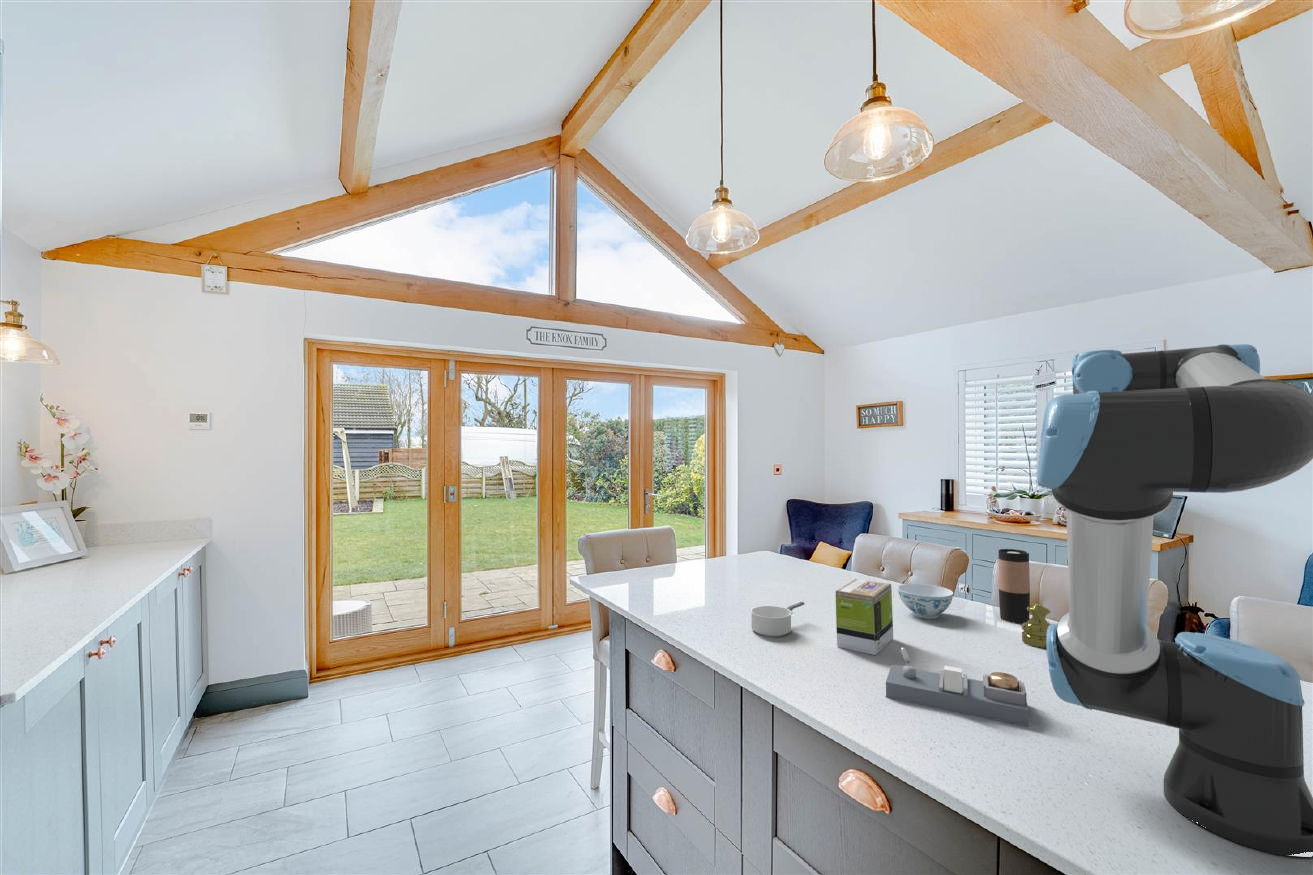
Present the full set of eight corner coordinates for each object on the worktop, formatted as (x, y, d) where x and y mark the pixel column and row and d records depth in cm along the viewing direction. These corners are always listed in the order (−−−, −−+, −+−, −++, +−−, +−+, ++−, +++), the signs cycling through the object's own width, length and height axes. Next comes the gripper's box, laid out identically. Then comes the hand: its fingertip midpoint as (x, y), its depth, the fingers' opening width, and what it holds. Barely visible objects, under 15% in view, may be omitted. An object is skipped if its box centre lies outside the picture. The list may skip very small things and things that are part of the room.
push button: (1018, 696, 101) (1018, 683, 101) (991, 691, 103) (990, 678, 103) (1016, 687, 105) (1016, 674, 105) (990, 683, 107) (989, 670, 107)
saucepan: (819, 626, 154) (819, 606, 154) (774, 642, 142) (773, 620, 142) (787, 616, 163) (787, 597, 163) (741, 630, 151) (741, 610, 151)
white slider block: (962, 693, 104) (961, 672, 104) (944, 689, 106) (944, 669, 106) (962, 689, 106) (961, 668, 106) (944, 685, 107) (944, 665, 107)
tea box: (856, 631, 149) (855, 577, 149) (894, 639, 143) (893, 583, 143) (835, 647, 138) (834, 588, 138) (876, 656, 131) (875, 595, 131)
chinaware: (887, 610, 168) (886, 585, 168) (925, 606, 172) (925, 581, 172) (924, 625, 153) (924, 598, 154) (965, 620, 158) (965, 593, 158)
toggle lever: (910, 663, 112) (904, 648, 112) (905, 663, 112) (899, 648, 113) (910, 661, 113) (905, 646, 113) (905, 662, 113) (900, 647, 114)
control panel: (1028, 726, 98) (1028, 698, 98) (886, 696, 110) (885, 671, 110) (1023, 703, 107) (1023, 678, 107) (891, 678, 119) (891, 655, 119)
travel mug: (993, 617, 160) (992, 550, 161) (1009, 614, 164) (1008, 548, 164) (1019, 625, 153) (1018, 554, 154) (1036, 621, 157) (1035, 552, 157)
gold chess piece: (1057, 651, 134) (1056, 610, 134) (1020, 644, 138) (1020, 605, 139) (1057, 642, 140) (1056, 603, 140) (1022, 636, 144) (1022, 599, 145)
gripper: (1134, 433, 94) (1137, 569, 94) (1116, 434, 105) (1118, 556, 105) (1080, 433, 98) (1082, 564, 97) (1068, 435, 109) (1070, 552, 109)
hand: (1101, 560), depth 101 cm, fingers closed
